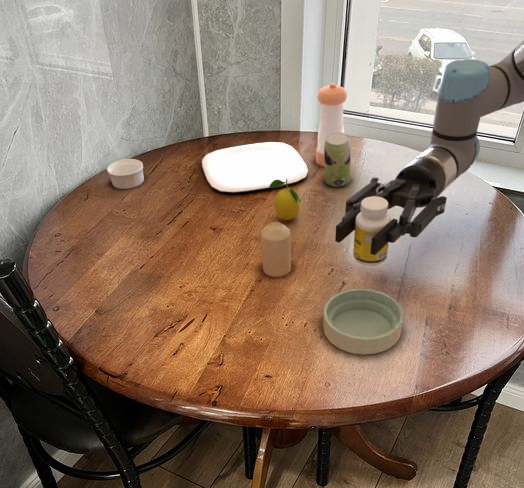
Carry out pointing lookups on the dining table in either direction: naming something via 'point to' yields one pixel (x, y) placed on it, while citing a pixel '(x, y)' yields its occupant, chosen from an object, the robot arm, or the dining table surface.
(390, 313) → the bowl
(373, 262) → the supplement bottle
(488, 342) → the dining table surface
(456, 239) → the dining table surface
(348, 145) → the beverage can
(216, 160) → the plate
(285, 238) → the candle
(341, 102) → the pepper shaker
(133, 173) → the ramekin
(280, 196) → the lemon
